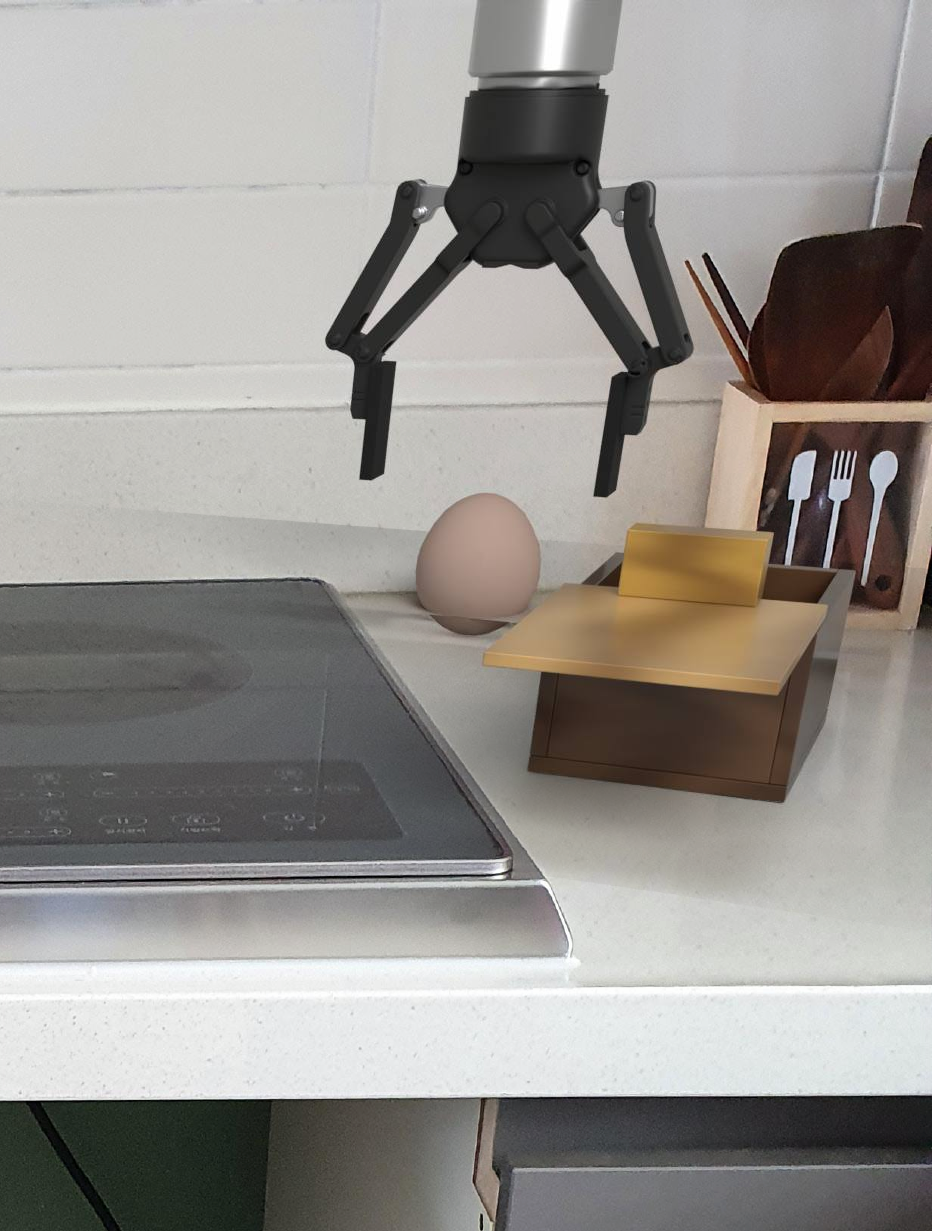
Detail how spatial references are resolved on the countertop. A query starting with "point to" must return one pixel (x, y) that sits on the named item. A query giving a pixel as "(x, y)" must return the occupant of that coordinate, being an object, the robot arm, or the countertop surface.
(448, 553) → the egg
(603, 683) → the box
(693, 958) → the countertop surface
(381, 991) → the countertop surface
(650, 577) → the lid
